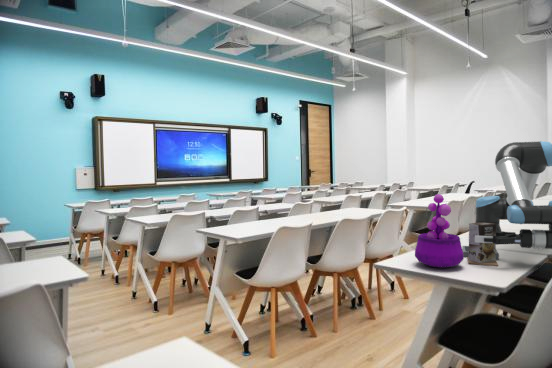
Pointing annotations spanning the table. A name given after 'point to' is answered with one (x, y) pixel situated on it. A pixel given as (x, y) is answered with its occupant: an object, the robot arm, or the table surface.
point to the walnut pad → (493, 263)
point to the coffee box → (481, 250)
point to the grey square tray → (466, 252)
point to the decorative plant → (439, 240)
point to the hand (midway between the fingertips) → (473, 236)
